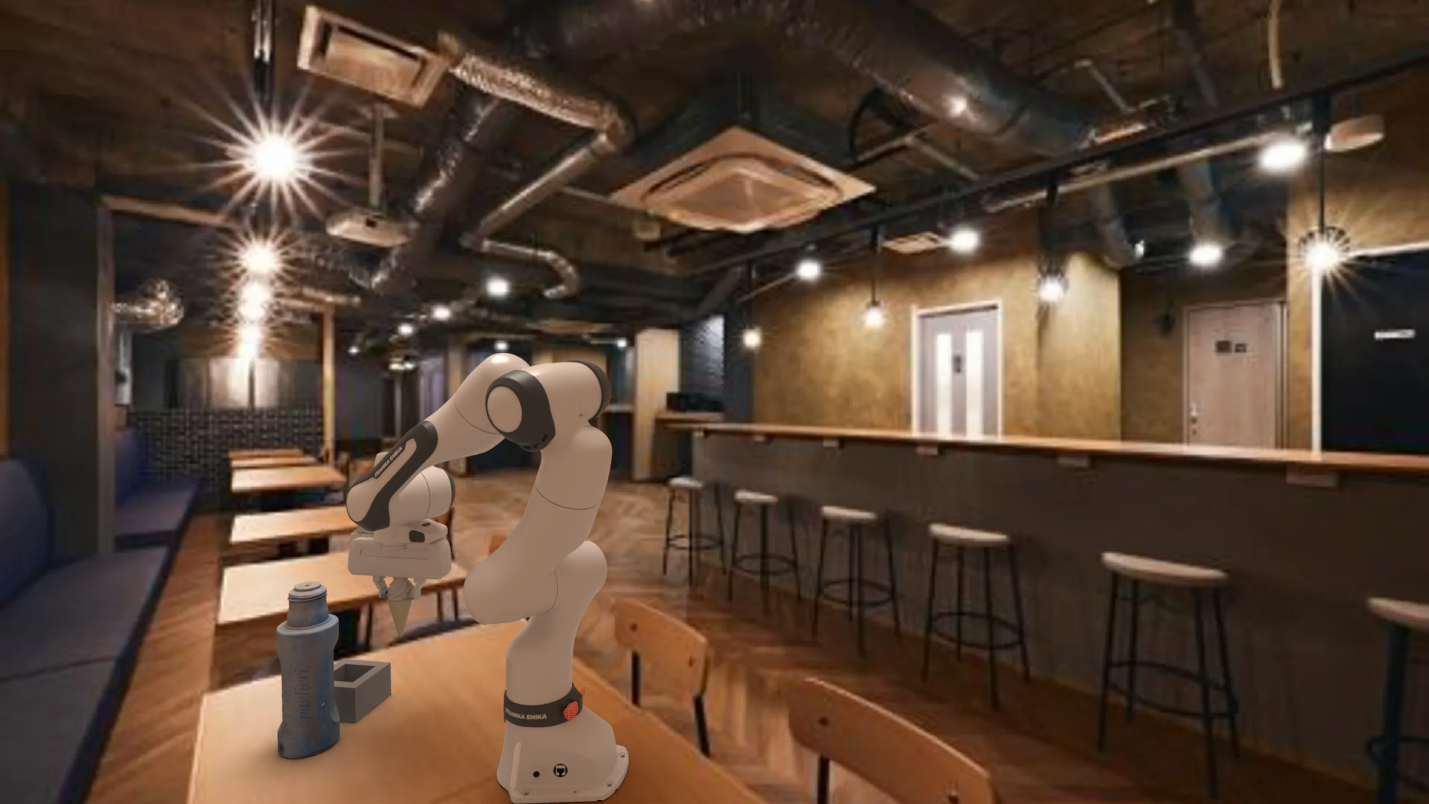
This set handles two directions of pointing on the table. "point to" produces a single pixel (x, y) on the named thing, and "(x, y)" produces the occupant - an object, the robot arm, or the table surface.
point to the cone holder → (360, 687)
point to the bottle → (307, 673)
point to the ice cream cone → (399, 601)
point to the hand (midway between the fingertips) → (400, 597)
